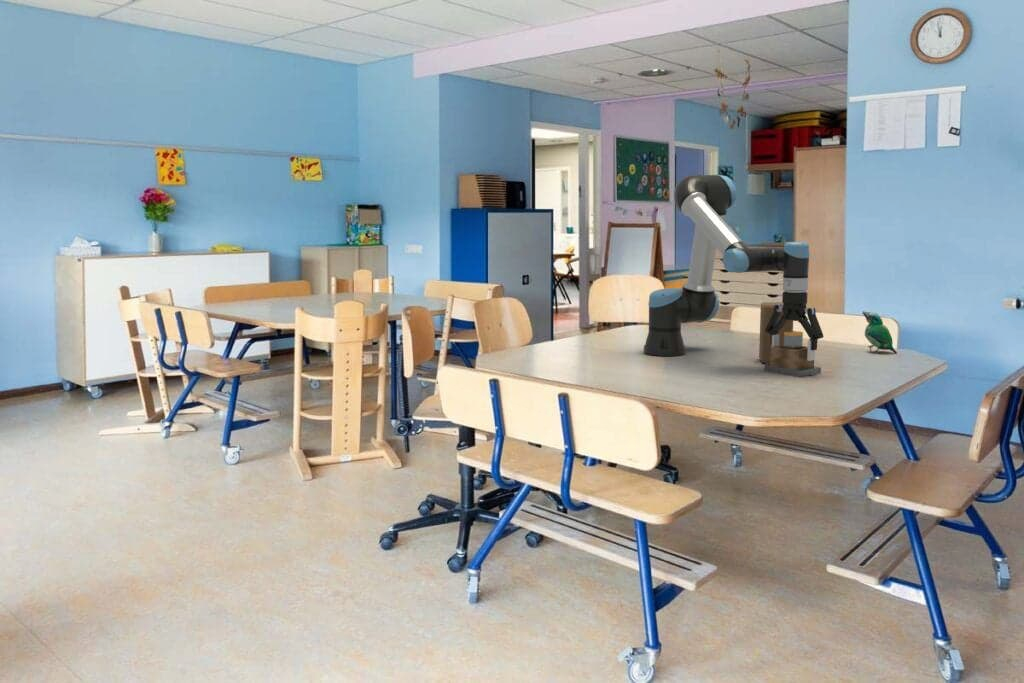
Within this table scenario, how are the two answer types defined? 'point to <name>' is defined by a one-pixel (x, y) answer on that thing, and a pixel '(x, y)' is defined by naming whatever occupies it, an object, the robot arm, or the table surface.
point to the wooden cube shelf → (790, 358)
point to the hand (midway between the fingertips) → (792, 357)
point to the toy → (877, 332)
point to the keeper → (794, 342)
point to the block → (765, 345)
